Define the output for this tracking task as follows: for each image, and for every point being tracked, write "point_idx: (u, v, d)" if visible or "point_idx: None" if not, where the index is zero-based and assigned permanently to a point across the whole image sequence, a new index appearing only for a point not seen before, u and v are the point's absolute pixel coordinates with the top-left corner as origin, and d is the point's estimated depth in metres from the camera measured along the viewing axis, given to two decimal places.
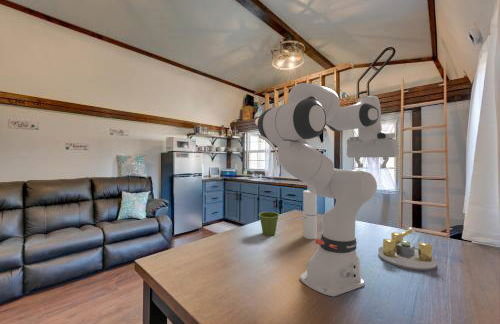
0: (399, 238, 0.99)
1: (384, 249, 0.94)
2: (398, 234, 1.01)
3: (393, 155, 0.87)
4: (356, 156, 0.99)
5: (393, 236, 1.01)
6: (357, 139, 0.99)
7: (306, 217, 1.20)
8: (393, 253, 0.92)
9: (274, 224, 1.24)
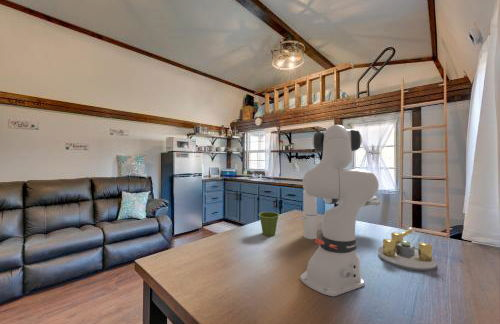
0: (399, 238, 0.99)
1: (384, 249, 0.94)
2: (398, 234, 1.01)
3: None
4: None
5: (393, 236, 1.01)
6: None
7: (306, 217, 1.20)
8: (393, 253, 0.92)
9: (274, 224, 1.24)
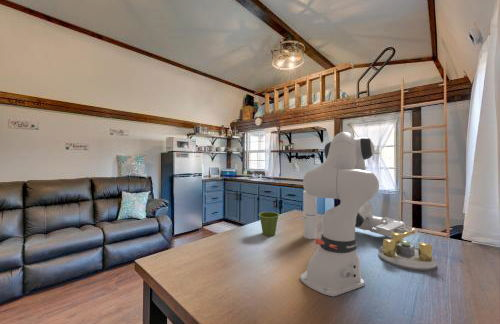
0: (399, 238, 1.00)
1: (384, 249, 0.94)
2: (398, 234, 1.01)
3: (403, 222, 1.20)
4: (393, 228, 1.11)
5: (393, 236, 1.01)
6: None
7: (306, 217, 1.20)
8: (393, 253, 0.92)
9: (274, 224, 1.24)
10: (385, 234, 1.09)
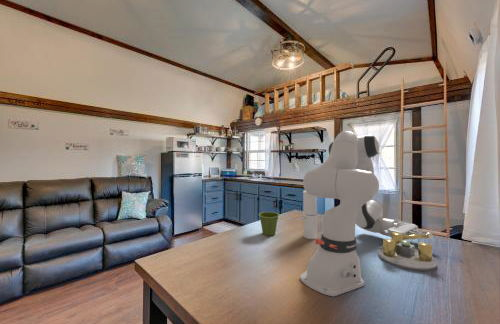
0: (397, 238, 1.00)
1: (384, 249, 0.94)
2: (397, 234, 1.01)
3: (416, 225, 1.15)
4: (405, 231, 1.06)
5: (391, 235, 1.02)
6: None
7: (306, 217, 1.20)
8: (393, 253, 0.92)
9: (274, 224, 1.24)
10: None
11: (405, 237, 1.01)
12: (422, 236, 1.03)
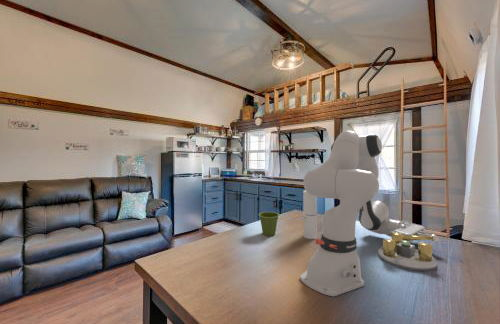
0: (396, 238, 1.00)
1: (384, 249, 0.94)
2: (397, 234, 1.01)
3: None
4: (413, 232, 1.04)
5: (391, 235, 1.02)
6: None
7: (306, 217, 1.20)
8: (393, 253, 0.92)
9: (274, 224, 1.24)
10: None
11: (406, 237, 1.01)
12: (425, 238, 1.01)
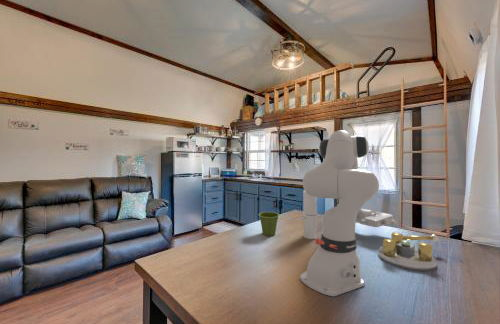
0: (396, 238, 1.00)
1: (384, 249, 0.94)
2: (397, 234, 1.01)
3: (392, 215, 1.24)
4: (380, 219, 1.15)
5: (391, 235, 1.02)
6: None
7: (306, 217, 1.20)
8: (393, 253, 0.92)
9: (274, 224, 1.24)
10: (373, 225, 1.14)
11: (406, 237, 1.01)
12: (425, 238, 1.01)
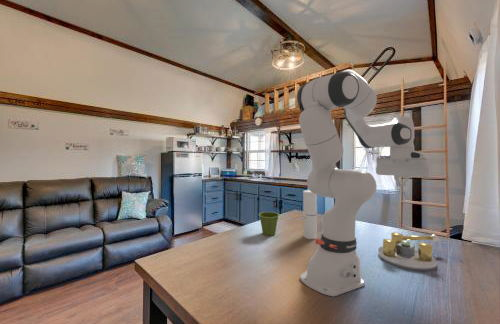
0: (396, 238, 1.00)
1: (384, 249, 0.94)
2: (397, 234, 1.01)
3: (426, 175, 0.89)
4: (386, 174, 1.01)
5: (391, 235, 1.02)
6: (388, 157, 1.01)
7: (306, 217, 1.20)
8: (393, 253, 0.92)
9: (274, 224, 1.24)
10: None
11: (406, 237, 1.01)
12: (425, 238, 1.01)
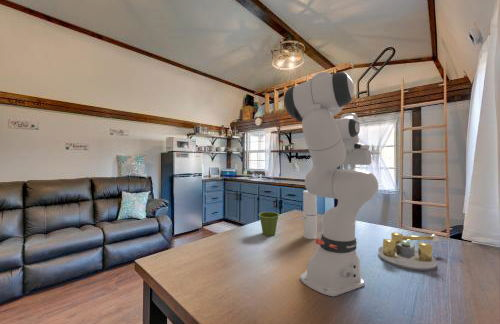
0: (396, 238, 1.00)
1: (384, 249, 0.94)
2: (397, 234, 1.01)
3: (366, 163, 1.04)
4: None
5: (391, 235, 1.02)
6: None
7: (306, 217, 1.20)
8: (393, 253, 0.92)
9: (274, 224, 1.24)
10: None
11: (406, 237, 1.01)
12: (425, 238, 1.01)
